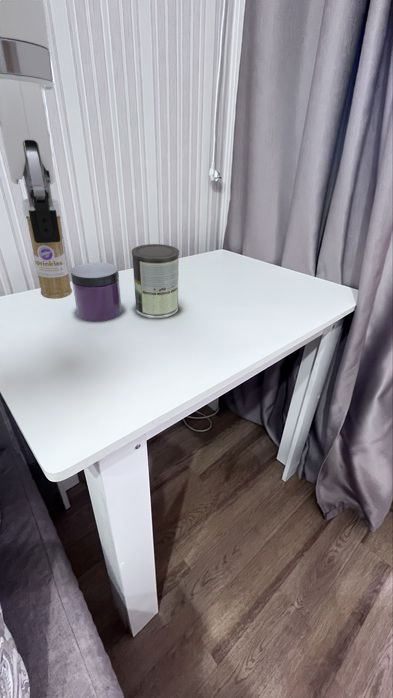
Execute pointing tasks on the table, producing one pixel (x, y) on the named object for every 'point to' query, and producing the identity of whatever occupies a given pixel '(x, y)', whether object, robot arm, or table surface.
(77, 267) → the jar lid
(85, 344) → the table surface
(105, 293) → the jar
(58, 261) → the sprinkles bottle
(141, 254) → the coffee can
